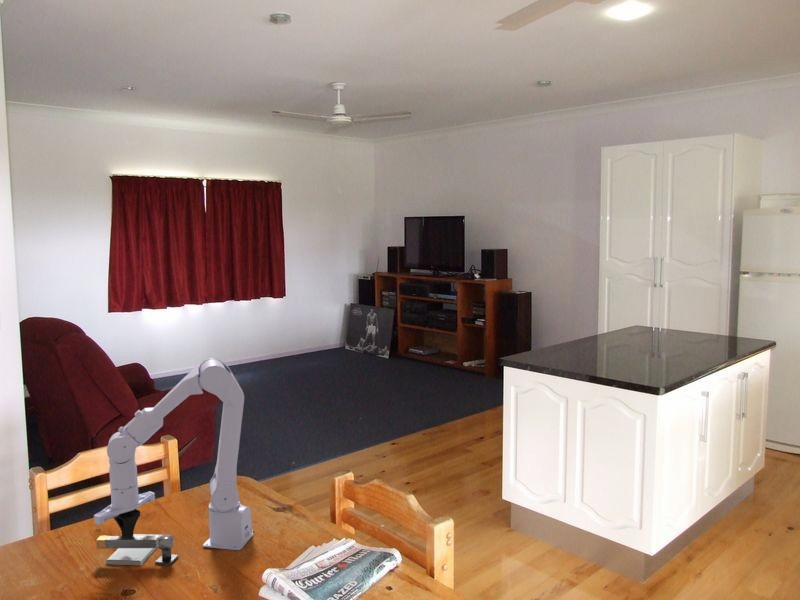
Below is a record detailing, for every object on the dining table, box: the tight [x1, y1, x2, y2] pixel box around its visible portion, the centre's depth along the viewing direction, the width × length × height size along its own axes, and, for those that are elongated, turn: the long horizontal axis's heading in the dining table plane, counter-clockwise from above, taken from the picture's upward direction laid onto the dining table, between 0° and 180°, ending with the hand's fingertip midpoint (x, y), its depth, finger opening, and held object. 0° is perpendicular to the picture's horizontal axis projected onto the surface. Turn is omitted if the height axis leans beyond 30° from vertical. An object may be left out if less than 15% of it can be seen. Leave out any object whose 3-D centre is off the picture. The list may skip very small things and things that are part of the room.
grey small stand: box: [154, 548, 179, 566], centre depth 146 cm, size 4×4×3 cm
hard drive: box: [105, 533, 163, 566], centre depth 151 cm, size 2×8×12 cm
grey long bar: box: [95, 534, 175, 551], centre depth 146 cm, size 17×3×2 cm, turn 90°
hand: (127, 541), depth 148 cm, fingers closed, pressing on grey long bar
